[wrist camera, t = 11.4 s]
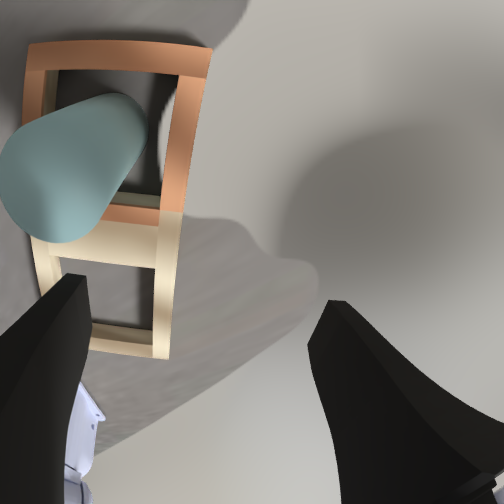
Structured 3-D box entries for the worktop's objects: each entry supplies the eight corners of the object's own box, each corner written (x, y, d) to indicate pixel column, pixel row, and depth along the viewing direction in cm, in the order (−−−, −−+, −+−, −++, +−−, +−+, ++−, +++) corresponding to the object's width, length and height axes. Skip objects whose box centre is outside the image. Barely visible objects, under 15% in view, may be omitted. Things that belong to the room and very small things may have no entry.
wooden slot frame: (169, 345, 24) (168, 362, 23) (58, 329, 22) (52, 345, 21) (212, 50, 14) (212, 48, 12) (44, 44, 12) (29, 43, 10)
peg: (152, 164, 17) (120, 237, 10) (81, 174, 16) (17, 248, 10) (145, 86, 14) (97, 105, 8) (69, 101, 14) (-14, 136, 7)
